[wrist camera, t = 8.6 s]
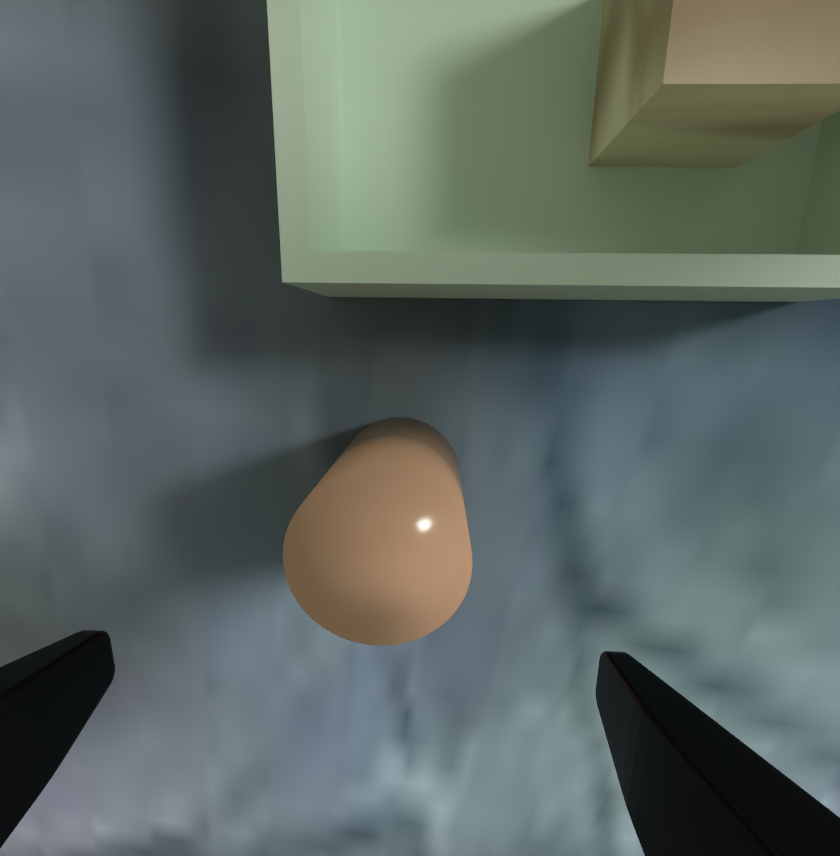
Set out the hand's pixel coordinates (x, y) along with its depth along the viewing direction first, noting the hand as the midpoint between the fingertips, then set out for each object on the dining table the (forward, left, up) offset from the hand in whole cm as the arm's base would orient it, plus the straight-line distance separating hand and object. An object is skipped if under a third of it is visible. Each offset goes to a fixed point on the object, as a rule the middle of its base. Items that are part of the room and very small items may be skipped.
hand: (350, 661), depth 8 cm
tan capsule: (0, 0, -10) cm, 11 cm away
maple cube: (-9, -14, -10) cm, 19 cm away
